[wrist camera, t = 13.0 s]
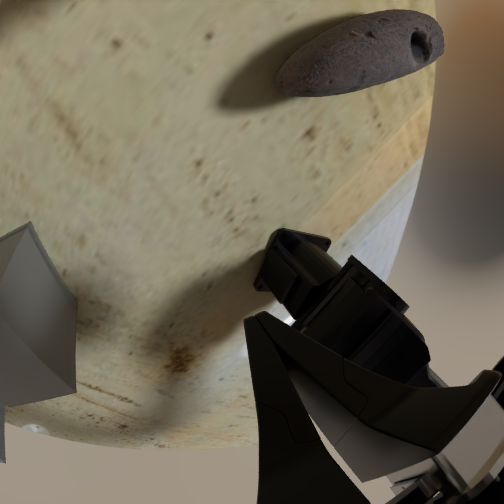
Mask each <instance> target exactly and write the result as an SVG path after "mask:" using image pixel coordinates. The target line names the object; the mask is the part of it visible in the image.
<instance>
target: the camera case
mask: <svg viewBox="0 0 504 504" xmlns="http://www.w3.org/2000/svg"><path fill="white" fill-rule="evenodd" d="M77 304H78V303H77V302H76V300H75V299H74V297H73V296H72V294H71V293H70V291H69V290H68V288H67V286H66V285H65V283H64V282H63V280H62V278H61V277H60V275H59V273H58V272H57V270H56V268H55V267H54V265H53V263H52V261H51V260H50V258H49V256H48V254H47V252H46V251H45V249H44V247H43V245H42V243H41V241H40V239H39V237H38V235H37V233H36V231H35V229H34V227H33V225H32V223H31V221H30V222H28V223H26V224H25V225H23V226H21V227H19V228H17V229H15V230H13V231H11V232H9V233H8V234H6V235H4V236H2V237H0V400H1V401H2V402H3V403H5V404H6V405H7V406H9V407H12V406H18V405H23V404H28V403H33V402H38V401H43V400H48V399H52V398H56V397H61V396H65V395H69V394H73V393H77V391H76V365H75V344H76V318H77Z"/></svg>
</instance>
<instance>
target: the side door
mask: <svg viewBox="0 0 504 504" xmlns="http://www.w3.org/2000/svg"><path fill="white" fill-rule="evenodd" d="M4 421H5V403H3V402H2V401H1V400H0V462H2V463H6V458H5V437H4Z"/></svg>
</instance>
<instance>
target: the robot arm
mask: <svg viewBox="0 0 504 504" xmlns="http://www.w3.org/2000/svg"><path fill="white" fill-rule="evenodd" d="M283 233H284V235H283V236H282V234H283ZM330 245H331V240H330V239H329V238H327V237H323V236H319V235H314V234H309V233H305V232H300V231H295V230H290V229H286V228H282V229H280V230H279V231H278V232H277V234H276V237H275V239H274V241H273V243H272V246H271V248H270V250H269V252H268V254H267V257H266V259H265V261H264V263H263V265H262V268H261V270H260V272H259V274H258V276H257V279H256V281H255V283H254V288H255V290H256V291H267V292H272V293H273V295H274V296H275V298H276V299H277V300H278V302H279V303H280V304H283V305H284V307H285V308H286V309H287V311H288V312H289V313H290V315H291V316H292V318H293V319H294V320H296V321H295V322H294V323H293V324H292V325H291V326H289V325H287V324H286V323H284V322H283V321H281V320H279V319H278V318H276V317H274V316H273V315H271V314H269V313H268V312H266V311H262V312H260V313H257V314H255V315H254V316H250V317H248V318H245V319H244V320H243V322H244V329H245V336H246V343H247V350H248V357H249V364H250V371H251V377H252V384H253V391H254V397H255V402H256V403H255V404H256V411H257V419H258V431H259V481H258V482H259V483H258V495H257V504H371V503H370V502H369V500H368V499H367V498H366V497H365V496H364V495H363V494H362V492H361V491H360V490H359V489H358V488H357V487H356V486H355V484H354V483H353V482H352V481H351V480H350V479H349V477H348V476H347V475H346V474H345V472H344V471H343V470H342V469H341V467H340V466H339V465H338V464H337V463H336V461H335V460H334V459H333V458H332V456H331V455H330V454H329V452H328V451H327V449H326V447H325V446H324V444H323V442H322V440H321V438H320V436H319V434H318V432H317V430H316V428H315V426H314V424H313V423H312V420H311V418H312V419H313V420H314V422H315V423H316V425H317V426H318V427H319V428H320V430H321V431H322V432H323V434H324V435H325V436H326V438H327V439H328V440H329V442H330V443H331V444H332V446H334V448H335V450H336V451H337V452H338V453H339V455H340V456H341V457H342V458H343V460H344V461H345V462H346V463H347V465H348V466H349V467H350V468H351V469H352V471H353V472H354V473H355V475H356V476H357V477H358V478H359V479H360V481H361V482H362V483H363V482H366V481H370V480H373V479H376V478H379V477H382V476H387V478H388V479H389V480H390V482H391V483H392V484H393V486H392V487H390V488H391V490H392V491H393V492H394V494H395V495H396V496H395V497H394V498H393V499H392V500H390V501H389V502H387V503H386V504H504V356H503V357H502V358H501V359H500V360H499V361H498V363H497V364H496V365H495V366H494V368H493V369H492V370H483V371H482V372H481V373H480V374H479V375H478V376H477V377H476V378H475V379H474V380H473V381H472V382H471V383H470V384H469V385H466V386H459V387H449V386H448V385H447V384H446V383H445V382H444V381H443V380H442V379H441V378H440V377H439V376H437V374H436V373H435V372H434V371H432V369H430V368H429V365H428V363H429V362H430V360H431V359H430V354H429V350H428V347H427V345H426V344H425V339H424V337H423V335H422V334H421V333H420V331H419V330H418V329H417V328H416V327H415V326H414V325H413V323H412V322H411V321H410V320H409V319H408V318H407V317H406V316H405V315H404V313H405V312H406V311H407V310H408V308H409V306H408V305H407V304H406V303H405V302H404V301H403V300H402V299H401V298H400V297H399V296H398V295H397V294H396V293H395V292H394V291H393V290H392V289H391V288H390V287H388V286H387V285H386V284H385V283H384V282H383V281H382V280H381V279H379V278H378V277H377V276H376V275H375V274H374V273H373V272H371V271H370V270H369V269H368V268H367V267H366V266H364V265H363V264H362V263H361V262H360V261H359V260H357V259H356V258H355V257H354V256H353V255H351V256H350V257H349V258H348V261H347V263H346V264H345V265H344V266H343V267H342V266H340V265H339V264H338V263H337V262H336V261H335V260H334V259H333V258H332V257H331V256H330V255H328V254H327V253H326V252H327V250H328V248H329V247H330ZM259 285H260V286H259ZM309 415H310V416H311V418H310V416H309ZM438 491H439V492H440V493H439V494H437V496H435V497H433V496H434V495H435V494H436V493H438ZM432 497H433V498H432Z"/></svg>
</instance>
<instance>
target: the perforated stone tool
mask: <svg viewBox="0 0 504 504" xmlns="http://www.w3.org/2000/svg"><path fill="white" fill-rule="evenodd" d="M443 53H444V37H443V31H442V29H441V27H440V26H439V24H438V22H437V21H436V20H435V19H434V18H433V17H431V16H429V15H427V14H423V13H420V12H417V11H412V10H398V9H397V10H395V9H394V10H385V11H379V12H374V13H369V14H365V15H361V16H358V17H355V18H352V19H350V20H348V21H345V22H342V23H340V24H338V25H336V26H334V27H332V28H330V29H329V30H327V31H325V32H323V33H322V34H320V35H318V36H317V37H315V38H314V39H312V40H310V41H309V42H307V43H306V44H304V45H303V46H302V47H300V48H299V49H298V50H297V51H296V52H294V53H293V54H292V55H291V56H290V57H289V59H288V60H287V61H286V62H285V63H284V64H283V66H282V67H281V69H280V70H279V71H278V73H277V75H276V77H275V80H274V87H275V88H276V89H277V90H278V91H279V92H281V93H283V94H286V95H290V96H298V97H323V96H330V95H339V94H345V93H350V92H355V91H358V90H362V89H365V88H368V87H371V86H374V85H379V84H382V83H385V82H388V81H391V80H394V79H397V78H400V77H403V76H405V75H408V74H410V73H413V72H416V71H418V70H420V69H422V68H423V67H425V66H427V65H429V64H431V63H432V62H434V61H435V60H436V59H437V58H438V57H439V56H441V55H442V54H443Z"/></svg>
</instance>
